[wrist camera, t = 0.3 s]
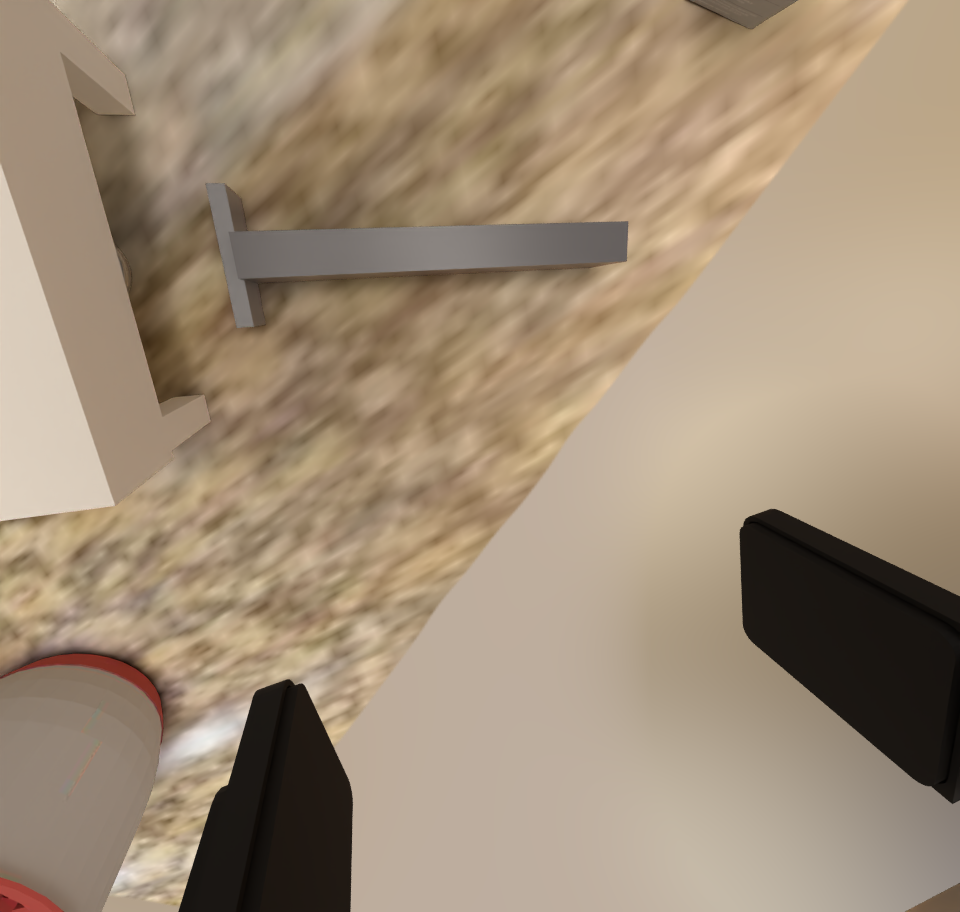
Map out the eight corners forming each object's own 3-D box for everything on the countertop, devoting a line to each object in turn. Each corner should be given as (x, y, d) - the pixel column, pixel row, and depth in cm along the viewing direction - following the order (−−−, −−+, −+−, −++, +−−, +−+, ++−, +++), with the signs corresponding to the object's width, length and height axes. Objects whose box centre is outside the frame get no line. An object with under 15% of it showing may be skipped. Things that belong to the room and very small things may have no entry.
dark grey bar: (224, 198, 30) (196, 176, 25) (591, 194, 36) (630, 175, 31) (250, 325, 33) (230, 328, 28) (589, 303, 38) (625, 303, 33)
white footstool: (-95, 56, 25) (-626, -237, 12) (122, 64, 27) (-112, -174, 14) (48, 445, 32) (-180, 544, 19) (212, 427, 34) (115, 505, 21)
